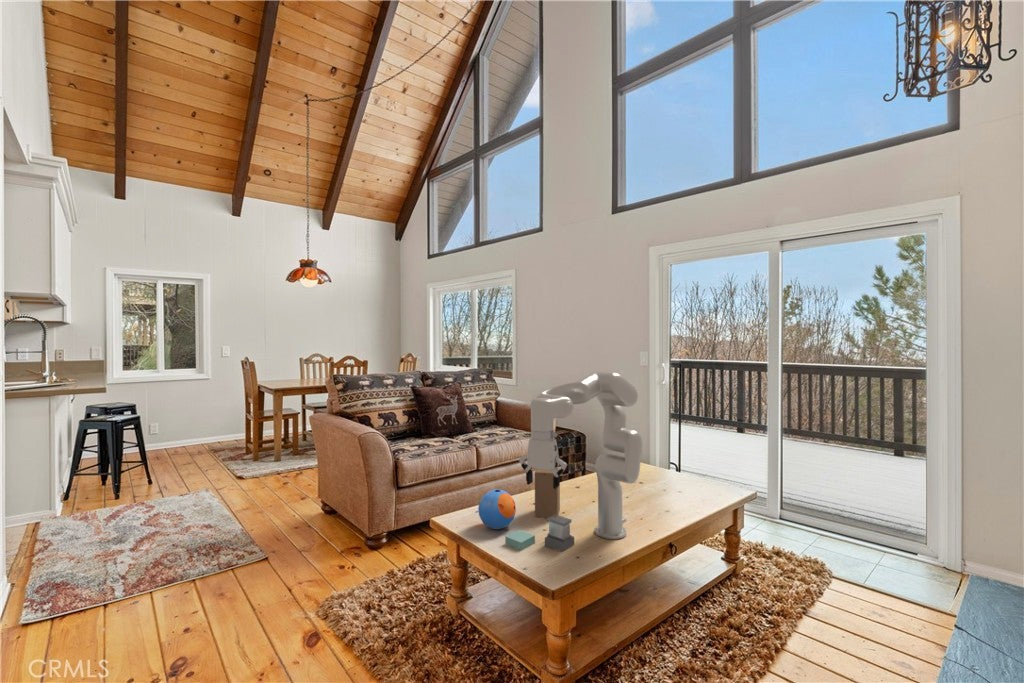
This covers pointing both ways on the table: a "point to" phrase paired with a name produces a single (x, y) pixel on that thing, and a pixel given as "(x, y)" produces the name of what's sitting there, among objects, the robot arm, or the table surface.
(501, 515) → the treat dispenser ball
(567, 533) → the housing
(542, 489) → the wooden block
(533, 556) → the table surface
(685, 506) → the table surface
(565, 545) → the stand
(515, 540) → the stand
